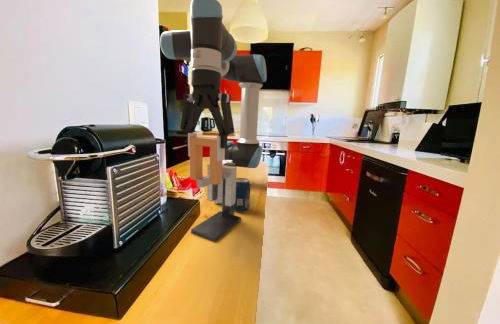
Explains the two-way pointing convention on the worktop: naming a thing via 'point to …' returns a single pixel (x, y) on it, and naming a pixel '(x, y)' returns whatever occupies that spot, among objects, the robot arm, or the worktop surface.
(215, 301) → the worktop surface
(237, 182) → the soda can
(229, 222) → the stand
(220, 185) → the candy box
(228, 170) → the grey link
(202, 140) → the orange link
